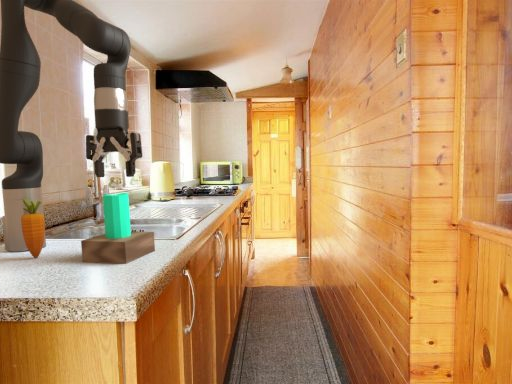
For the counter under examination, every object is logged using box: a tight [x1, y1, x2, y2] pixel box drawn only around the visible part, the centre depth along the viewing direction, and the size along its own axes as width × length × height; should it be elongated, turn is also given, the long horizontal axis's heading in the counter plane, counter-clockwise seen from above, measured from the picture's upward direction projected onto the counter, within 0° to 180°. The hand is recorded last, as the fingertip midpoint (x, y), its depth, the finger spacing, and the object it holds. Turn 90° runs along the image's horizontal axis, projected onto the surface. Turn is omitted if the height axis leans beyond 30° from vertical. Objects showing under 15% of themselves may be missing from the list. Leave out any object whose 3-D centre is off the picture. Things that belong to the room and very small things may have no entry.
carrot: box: [21, 199, 46, 259], centre depth 87 cm, size 5×5×15 cm
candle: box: [102, 187, 132, 239], centre depth 85 cm, size 6×6×12 cm
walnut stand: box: [80, 230, 156, 264], centre depth 86 cm, size 12×12×5 cm
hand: (115, 176), depth 85 cm, fingers open, 8 cm apart
